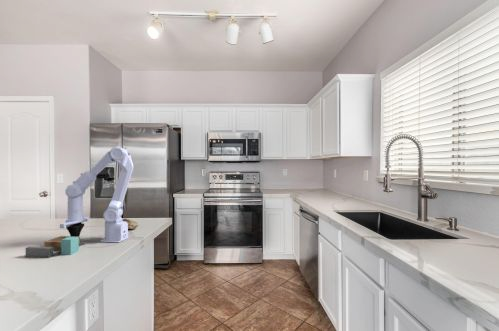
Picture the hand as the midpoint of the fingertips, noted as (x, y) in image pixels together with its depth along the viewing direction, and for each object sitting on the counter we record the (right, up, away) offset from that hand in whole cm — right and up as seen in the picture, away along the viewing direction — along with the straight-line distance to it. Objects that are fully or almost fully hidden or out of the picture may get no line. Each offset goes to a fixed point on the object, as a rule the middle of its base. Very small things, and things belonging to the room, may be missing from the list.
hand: (75, 240), depth 112 cm
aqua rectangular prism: (+8, -1, -13) cm, 15 cm away
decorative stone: (+12, -2, +27) cm, 29 cm away
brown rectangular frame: (0, -1, -7) cm, 7 cm away
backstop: (-1, -1, -10) cm, 10 cm away
